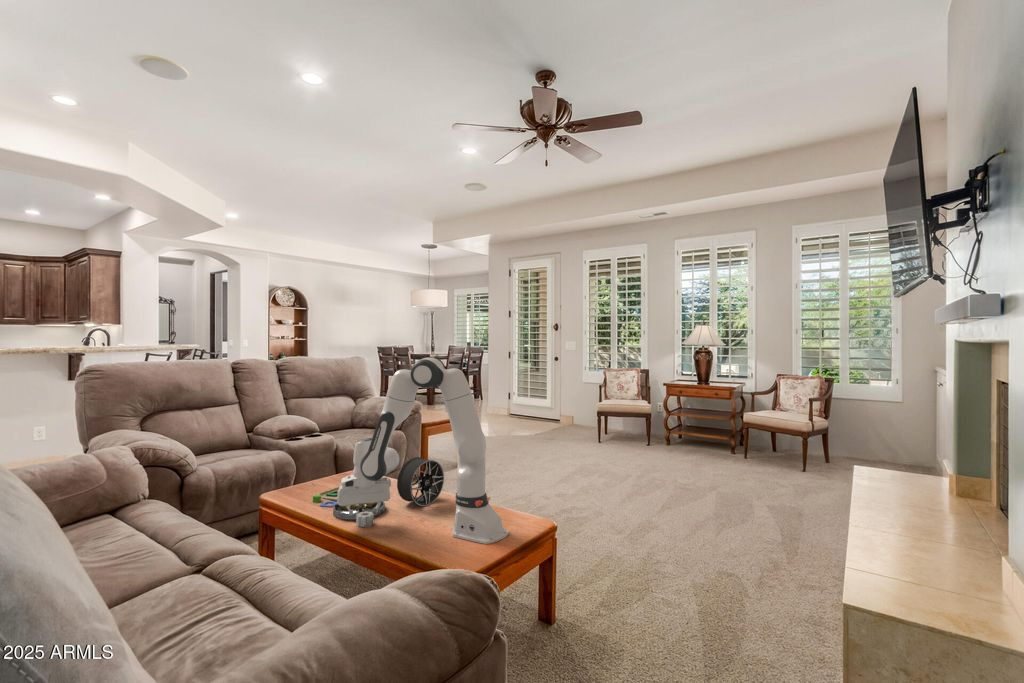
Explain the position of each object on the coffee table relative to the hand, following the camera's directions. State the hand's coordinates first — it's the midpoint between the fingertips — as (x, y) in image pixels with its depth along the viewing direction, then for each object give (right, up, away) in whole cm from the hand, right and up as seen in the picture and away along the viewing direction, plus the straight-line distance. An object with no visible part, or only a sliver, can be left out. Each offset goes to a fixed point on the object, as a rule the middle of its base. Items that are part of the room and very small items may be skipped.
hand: (363, 513), depth 196 cm
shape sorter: (-19, -5, +36) cm, 41 cm away
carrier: (-6, -4, +14) cm, 16 cm away
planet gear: (+1, -4, 0) cm, 4 cm away
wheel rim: (+18, -5, +26) cm, 32 cm away
